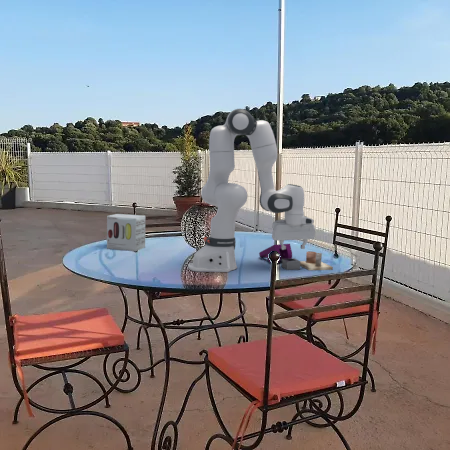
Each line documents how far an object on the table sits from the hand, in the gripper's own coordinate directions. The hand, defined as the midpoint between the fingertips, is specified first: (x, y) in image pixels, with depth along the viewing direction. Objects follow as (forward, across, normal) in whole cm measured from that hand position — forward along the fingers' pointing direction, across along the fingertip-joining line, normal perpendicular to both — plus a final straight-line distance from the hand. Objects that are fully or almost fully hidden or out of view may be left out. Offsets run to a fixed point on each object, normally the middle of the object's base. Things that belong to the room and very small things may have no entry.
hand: (293, 249), depth 212 cm
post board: (+10, +12, +2) cm, 15 cm away
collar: (+9, -1, 0) cm, 9 cm away
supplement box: (+8, -74, +57) cm, 94 cm away
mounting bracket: (+10, -3, +18) cm, 21 cm away
